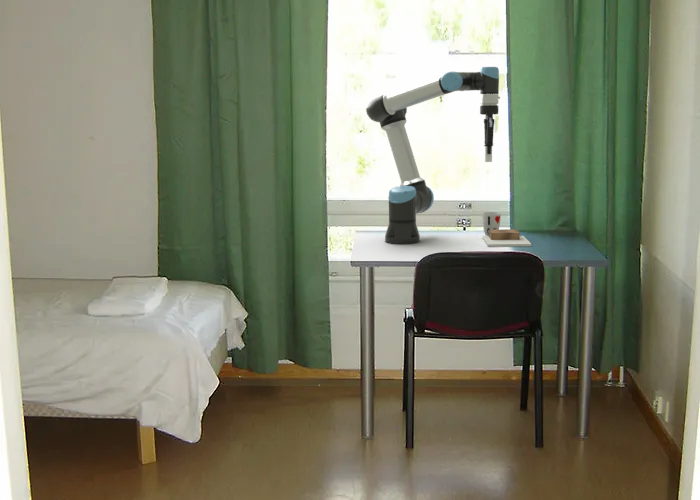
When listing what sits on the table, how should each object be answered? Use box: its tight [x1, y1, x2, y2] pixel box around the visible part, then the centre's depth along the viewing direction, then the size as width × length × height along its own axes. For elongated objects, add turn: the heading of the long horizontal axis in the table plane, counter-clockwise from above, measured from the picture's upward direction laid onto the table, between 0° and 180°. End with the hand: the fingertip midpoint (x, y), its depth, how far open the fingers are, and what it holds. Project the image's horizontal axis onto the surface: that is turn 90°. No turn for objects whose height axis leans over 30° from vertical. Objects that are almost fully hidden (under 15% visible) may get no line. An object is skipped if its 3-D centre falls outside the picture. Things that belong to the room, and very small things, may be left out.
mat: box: [481, 235, 533, 248], centre depth 365 cm, size 18×20×1 cm
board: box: [489, 228, 521, 240], centre depth 369 cm, size 12×3×9 cm
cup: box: [481, 211, 502, 236], centre depth 382 cm, size 8×8×10 cm
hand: (488, 161), depth 359 cm, fingers closed
